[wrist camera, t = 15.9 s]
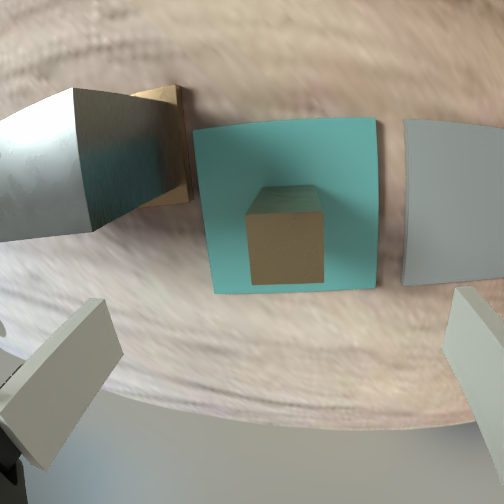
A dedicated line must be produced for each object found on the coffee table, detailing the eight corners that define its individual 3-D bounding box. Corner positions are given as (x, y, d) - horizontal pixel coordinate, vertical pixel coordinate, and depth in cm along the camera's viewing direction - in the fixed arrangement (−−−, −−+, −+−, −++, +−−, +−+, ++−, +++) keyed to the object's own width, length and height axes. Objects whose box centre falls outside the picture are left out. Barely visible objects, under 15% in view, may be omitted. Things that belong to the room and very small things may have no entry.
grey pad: (400, 281, 30) (403, 286, 29) (403, 119, 25) (407, 118, 24) (516, 272, 28) (520, 275, 27) (528, 133, 22) (533, 133, 21)
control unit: (55, 216, 33) (-38, 264, 19) (42, 126, 29) (-61, 142, 15) (193, 199, 30) (112, 257, 16) (180, 86, 26) (85, 56, 12)
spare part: (266, 236, 29) (251, 285, 20) (262, 187, 28) (244, 214, 19) (315, 234, 29) (324, 282, 20) (313, 184, 27) (323, 211, 18)
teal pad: (216, 289, 33) (214, 293, 32) (195, 130, 28) (192, 130, 27) (373, 283, 31) (375, 288, 30) (372, 118, 25) (375, 117, 24)
